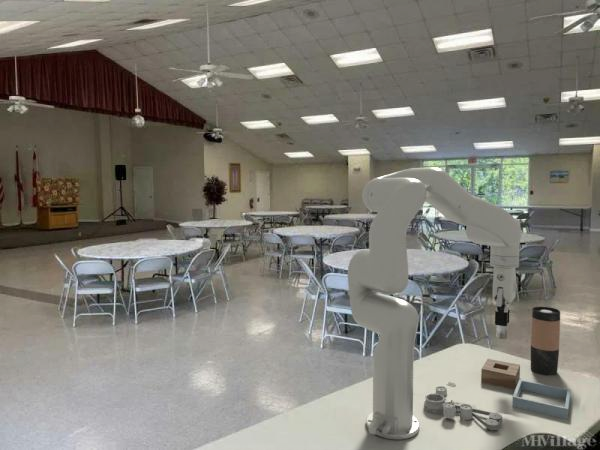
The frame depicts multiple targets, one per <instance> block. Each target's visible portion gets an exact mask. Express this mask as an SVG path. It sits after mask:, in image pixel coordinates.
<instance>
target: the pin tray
mask: <svg viewBox="0 0 600 450" xmlns="http://www.w3.org/2000/svg"><path fill="white" fill-rule="evenodd" d="M522 391H526V392H532V393H536V394H541V395H546V396H550V397H553V398H554V397H555V398H558V399H559V398H560V399H565V403H564V406H561V405H557V404H552V403H547V402H543V401H540V400H539V401H538V400H534V399H529V398H524V397H521V396H520V395H521V392H522ZM511 402H512V403H511V407H514V408H519V409H523V410H527V411H532V412H536V413H538V414H539V413H540V414H544V415H548V416H551V417H556V418H561V419H566V420H568V417H569V410H570V402H571V389H569V388H565V387H559V386H554V385H549V384H546V383H545V384H544V383H539V382H535V381H529V380H523V379H520V378H519V381H518V383H517V386H516V389H515V390H514V392H513V395H512V400H511Z"/></svg>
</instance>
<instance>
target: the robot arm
mask: <svg viewBox="0 0 600 450" xmlns="http://www.w3.org/2000/svg"><path fill="white" fill-rule="evenodd" d="M361 197H362V202H363V204H364V206H365V207H366V208H367V209H368V210H369V211H371V212H375V213H376V215H375V216H374V218H373V220H372V222H371V224H370V227H369V232H368V245H369V246H368V247H369V248H368V249H362V250H361V249H360V250H359V251H357V252H356V253H354V255H352V257H351V259H350V260H349V263H348V267H347V283H348V284H347V285H348V295H349V303H350V305H349V306H350V311H351V315H352V318H353V320H354V322H355V323H356V324H357V325H358V326H360V327H362V328H363V329H366V330H369V331H370V332H374V333H375V334H377V335H379V338H378V339H379V340H378V342H377V344H376V345H375V346H374V350H373V352H372V411H371V413H369V414H368V415H367V416H366V420H365V421H366V427H367V429H368V433H369V434H370V435H377V436H378V437H380V438H384V439H389V440H406V439H410V438H412V437H414V436H416V435H417V434H418V433H419V431H420V422H419V420H418V418H416V417H415V415H413V413H414V357H415V356H414V355H415V353H414V352H415V341H416V336H417V332H418V328H419V317H420V316H419V313H418V311H417V309H416V307H414V305H413V304H411V303H410V302H408V301H406V300H405V299H401V298H398V297H395V296H393V295H399V294H402V293H403V292H404V291H405V290H406V289H407V288H408V284H409V264H408V263H409V262H408V251H407V249H408V248H407V234H408V233H407V232H408V229H409V226H410V224H411V222H412V221H413V219H414V218H415V216H416V215H417V214H418V212H420V210H421V209H422V208H423V206H424V205H425V203H427V204H429V205H430V206H431V207H433V208H434V209H435V210H437V212H439V213H441V214H442V215H443V216H444V217H445V218H446V219H447V220H448V221H451V222H453V223H456V224H458V225H461V226H465V227H466V228H465V234H466V237H467V239H468V240H469V241H470V242H471V243H473V244H477V245H481V246H483V245H484V246H489V247H490V251H489V253H490V256H489V259H490V260H489V266H491V267H493V275H492V276H493V277H492V300H493V301H494V302H495V312H494V314H495V315H494V325H495V326H497V325H499V326H507V327H508V324H509V323H510V314H511V313H510V308H508V312H507V303H509V304H510V303H512V302H513V301H514V300H515V298H516V296H517V295H516V291H517V290H516V284H517V282H516V280H517V279H516V278H517V275H516V268H517V269H518V268H519V267H520V247H521V246H520V245H521V239H522V236H523V235H522V234H523V232H522V228H521V221H520V219H518V218H515V217H514V216H513V215H512V214H510V213H509V212H508V211H507V210H505V209H504V208H502V207H501V206H498V205H496V204H494V203H492V202H489V201H487V200H485V199H483V198H481V197H478V196H477V195H473V194H472V193H470V192H469V191H468V190H467V189H466V188H464V186H463V185H461V184H460V183H459V182H458V181H457V180H456V179H454V177H452V175H450V174H449V173H448V172H446V171H445V170H444V169H442V168H439V167H411V168H408V169H407V168H406V169H402V170H399V171H395V172H392V173H388V174H385V175H382V176H379V177H375V178H372V179H371V180H369V181H368V182H367V183H366V184H365V185H364V187H363V189H362V195H361ZM507 317H508V320H507Z"/></svg>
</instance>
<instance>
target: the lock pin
mask: <svg viewBox="0 0 600 450" xmlns="http://www.w3.org/2000/svg"><path fill="white" fill-rule="evenodd" d="M510 307H511V306H510V303H507V312H508V308H509V309H510ZM507 320H508V317H507ZM495 335H496V337H495V338H496V339H500V340H506V339H507V338H508V325H507V326H499V325H496V333H495Z"/></svg>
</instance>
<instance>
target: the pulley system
mask: <svg viewBox="0 0 600 450" xmlns="http://www.w3.org/2000/svg"><path fill="white" fill-rule="evenodd" d="M445 386H447V387H450V388H454V387H457V385H456V384H455V382H451V381H449V382H448V383H446V384H445ZM445 386H436V387H435V393H430V394H429V393H428V394H427V395H425V396H424V397H425V401H424V403H423V408H424V410H425V411H426V412H427V413H428V414H432V415H437V416H440V415H442V416H443V417H445V418H447V419H453V418H455V417H456V416H457V415H460V419H462V420H464V421H469V420H472V419H473V418H474V419H476V420H477V421H478V422H479V423H480V424H482V425H483V427H485V428H486V429H488V430H491V431H494V430H499V429H500V427H501V424H502V423H503V415H502V414H500V413H498V412H490V411H486V410H480V409H476V408H473V406H472V405H471V404H467V403H463V404H460V405H456V404H455V403H453V400H452V399H451V400H450V401H446V398H445V396H447V395H448V390H447V387H445ZM477 414H480V415H485V416H488V418H487V419H485V421H484V420H483V419H482V418H480V416H478V415H477Z"/></svg>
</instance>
